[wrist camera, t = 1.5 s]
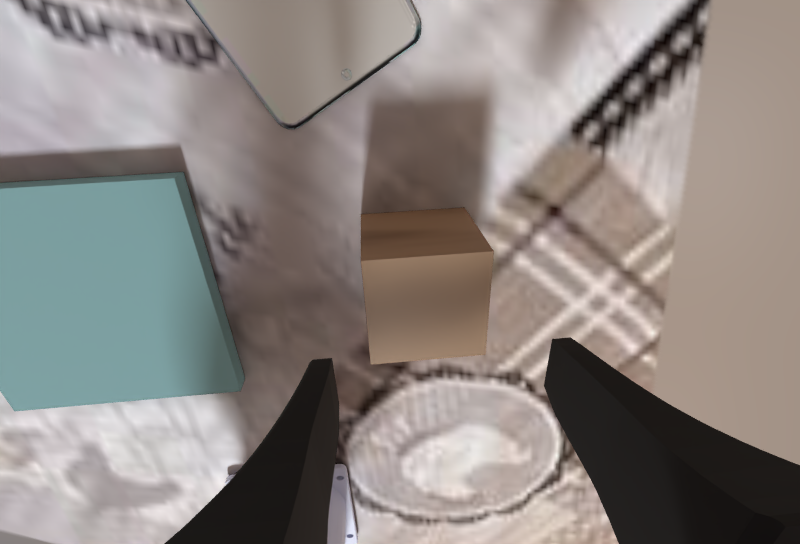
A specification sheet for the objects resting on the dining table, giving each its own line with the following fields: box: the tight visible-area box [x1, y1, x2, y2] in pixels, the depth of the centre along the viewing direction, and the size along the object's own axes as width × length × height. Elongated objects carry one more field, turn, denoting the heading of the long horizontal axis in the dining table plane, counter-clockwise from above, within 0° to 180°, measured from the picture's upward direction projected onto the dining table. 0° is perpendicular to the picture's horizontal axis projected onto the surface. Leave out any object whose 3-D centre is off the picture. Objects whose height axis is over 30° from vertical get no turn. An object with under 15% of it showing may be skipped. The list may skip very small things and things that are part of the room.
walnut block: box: [361, 207, 494, 365], centre depth 18 cm, size 5×5×5 cm
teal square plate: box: [0, 172, 245, 411], centre depth 20 cm, size 12×12×1 cm
